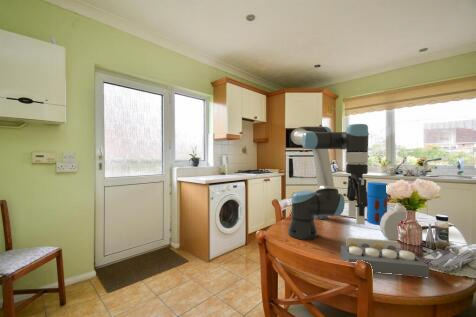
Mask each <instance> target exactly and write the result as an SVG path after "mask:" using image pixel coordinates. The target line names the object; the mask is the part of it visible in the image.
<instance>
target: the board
mask: <svg viewBox="0 0 476 317" xmlns="http://www.w3.org/2000/svg"><path fill="white" fill-rule="evenodd" d="M349 247H351V246H346V245H340V257H341V259H342V258H343V259H342V261H343V260H344V261H348V262H356V261H357V260H363V261H365V262H368V263H370V264H371V266H372V269H373V272H381V273H392V274H402V275H413V276H422V277H429V278H430V266H429V265H428V264H427V263H426V262H424V261H423V260H422V259H421V258H419V257H418V256H417V255H415V254H414V255H415V260H414V261H413V260H403V259H402V258H400V257H399V251H401V249H398V250H393V251H395V252H396V253H397V257H396V259H391V258H384V257H383V256H382V250H383V249H379V248H374V249H377V250H378V251H379V257H368V256H367V255H366V254H365V248H366V247H359V248H361V249H362V256H357V255H350V254H349ZM389 250H391V249H389ZM408 251H409V252H411V251H410V250H408ZM344 261H343V262H344Z"/></svg>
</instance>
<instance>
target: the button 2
mask: <svg viewBox="0 0 476 317" xmlns="http://www.w3.org/2000/svg"><path fill="white" fill-rule="evenodd" d="M365 254H366V255H367V256H368V257H379V251H378V250H377V249H374V248H365Z"/></svg>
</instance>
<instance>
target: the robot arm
mask: <svg viewBox="0 0 476 317" xmlns="http://www.w3.org/2000/svg"><path fill="white" fill-rule="evenodd" d="M369 135H370V133H369V126H368V125H367V124H366V123H353V124H348V125H347V127H346V129H345V131H332V129H331V128H330V127H328V126H323V125H320V126H300V127H297V128H295V129H293V130H292V131H291V133H290V141H291V142H293V144H295V145H298V146H302V148H303V149H306V150H311V152H312V153H313V160H314V167H315V176H316V184H317V189H316V190H315V191H313V190H299V191H295V192H293V193H292V194H291V219H290V220H291V221H290V223H289V226H288V230H287V233H288V236H290V237H292V238H293V239H299V240H305V241H307V240H314V239H316V238H318V229H317V226H316V223H315V218H314V216H328V217H339V216H341V215H342V214H343V213H344V209H345V203H346V201H345V197H344V195H343V194H342V193H339V189H338V188H336V186H335V180H334V178H333V171H332V165H331V159H330V151H329V150H346V152H345V163H347V164H346V165H345V173H346V174H350V175H348V176H347V191H346V198H347V200H348V204H347V205H348V209H347V210H348V212H347V214H348V218H349V217H352V218H353V217H355V224H356V225H365V223H366V222H365V221H366V220H365V219H366V208H367V206H368V204H367V179H365V178H364V177H363V175H367V174H368V172H369V167H368V162H369V161H368V160H369V157H370V155H369V153H368V152H369ZM314 192H316V194H315V193H314Z"/></svg>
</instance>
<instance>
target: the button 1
mask: <svg viewBox="0 0 476 317" xmlns="http://www.w3.org/2000/svg"><path fill="white" fill-rule="evenodd" d="M349 254H350V255H357V256H362V249H361V248H359V247H355V246H351V247H349Z"/></svg>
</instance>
